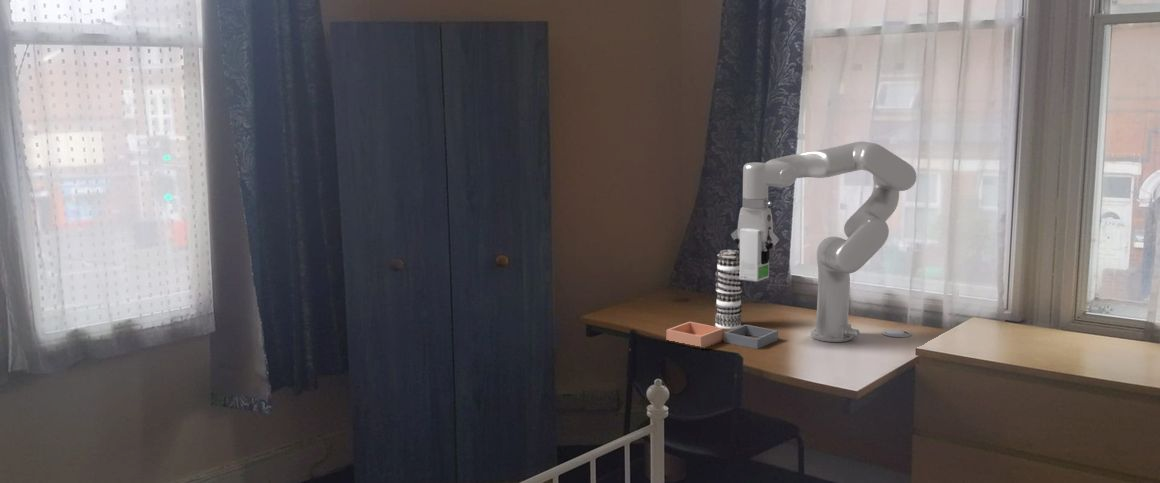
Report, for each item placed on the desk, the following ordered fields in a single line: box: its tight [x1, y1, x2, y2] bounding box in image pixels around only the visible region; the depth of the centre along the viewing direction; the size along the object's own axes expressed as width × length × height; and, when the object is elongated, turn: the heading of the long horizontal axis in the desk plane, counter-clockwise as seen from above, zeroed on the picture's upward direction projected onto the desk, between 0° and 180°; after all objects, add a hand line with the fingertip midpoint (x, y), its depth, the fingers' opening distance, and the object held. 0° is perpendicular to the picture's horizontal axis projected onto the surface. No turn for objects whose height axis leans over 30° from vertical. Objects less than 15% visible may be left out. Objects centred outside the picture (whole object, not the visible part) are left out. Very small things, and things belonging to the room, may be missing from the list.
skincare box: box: [739, 229, 770, 282], centre depth 280 cm, size 8×7×16 cm
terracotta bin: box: [665, 321, 725, 348], centre depth 284 cm, size 13×13×4 cm
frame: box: [723, 324, 779, 350], centre depth 284 cm, size 12×13×3 cm
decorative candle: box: [714, 249, 744, 330], centre depth 300 cm, size 9×9×25 cm
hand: (754, 261), depth 280 cm, fingers closed on skincare box, 6 cm apart
